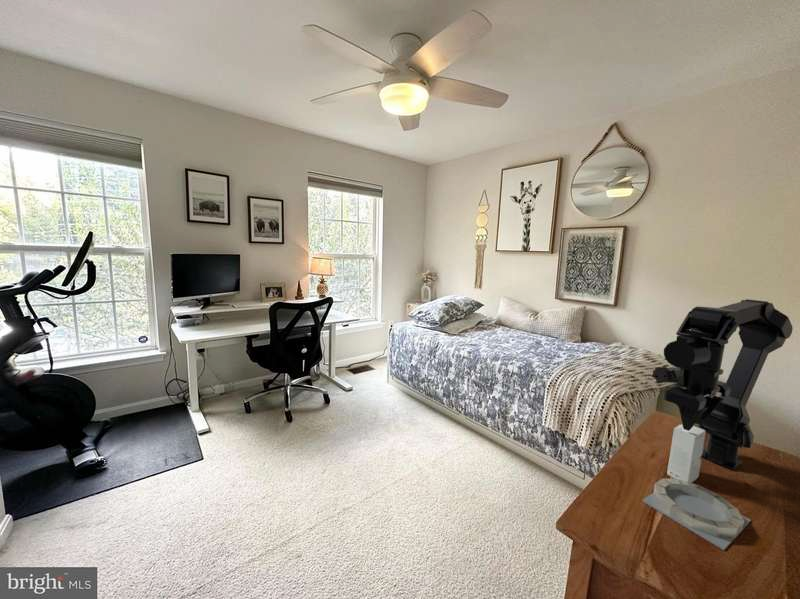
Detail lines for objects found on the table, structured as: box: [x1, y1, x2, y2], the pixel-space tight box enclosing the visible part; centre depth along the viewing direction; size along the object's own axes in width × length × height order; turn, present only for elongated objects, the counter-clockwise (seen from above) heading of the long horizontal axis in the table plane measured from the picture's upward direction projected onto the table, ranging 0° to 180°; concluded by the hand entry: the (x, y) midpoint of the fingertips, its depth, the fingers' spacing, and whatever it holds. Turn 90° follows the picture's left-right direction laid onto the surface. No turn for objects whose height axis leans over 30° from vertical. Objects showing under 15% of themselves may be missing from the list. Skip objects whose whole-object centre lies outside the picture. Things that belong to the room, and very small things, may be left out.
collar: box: [653, 478, 744, 539], centre depth 67 cm, size 13×13×2 cm
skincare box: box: [666, 424, 707, 483], centre depth 77 cm, size 6×4×12 cm
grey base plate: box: [641, 491, 751, 551], centre depth 67 cm, size 14×13×1 cm
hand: (691, 426), depth 76 cm, fingers open, 5 cm apart
